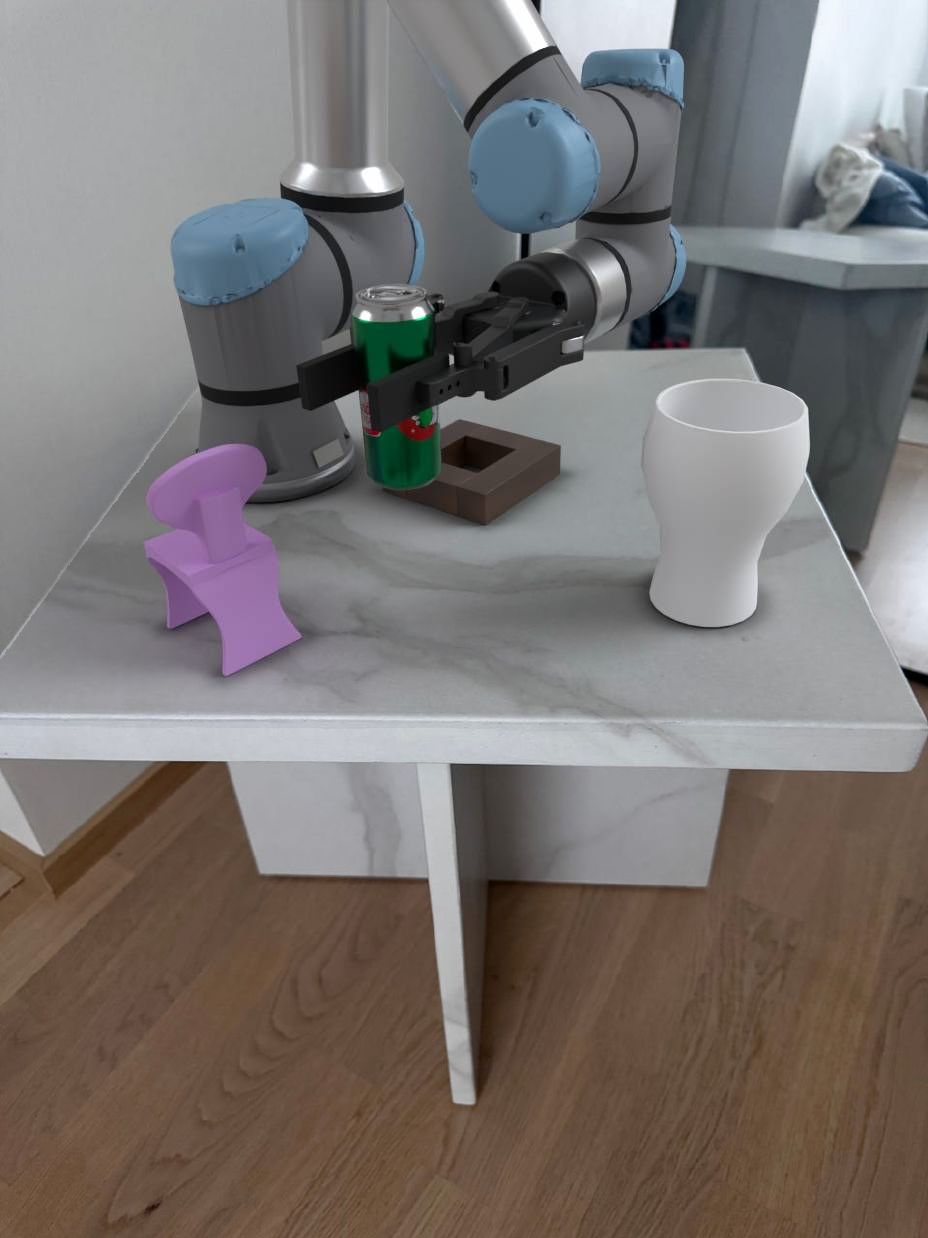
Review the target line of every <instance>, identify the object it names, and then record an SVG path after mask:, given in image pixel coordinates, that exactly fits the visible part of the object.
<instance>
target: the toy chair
mask: <svg viewBox="0 0 928 1238" xmlns="http://www.w3.org/2000/svg"><path fill="white" fill-rule="evenodd" d="M266 473H267V466H266V462H265V459H264V457H263V455H262V453H261V452H260V451H259V450H258V449H257V448H255V447H253V446H250V445H246V444H227V445H221V446H217V447H214V448H211V449H208V450H206V451H203V452H200V453H195V454H192V455H191V456H188V457H186V458H184V459H183V460H180V461H179V462H178V463H176V464H173V466H171V467H170V468H169V469H167V470H166V471H164V472H163V473H162V474H161V475H160V476H158V477H157V478H156V479H155V480H154V481H153V483H152V484H151V485H150V486H149V488H148V490H147V492H146V496H145V503H146V506H147V507H146V508H147V509H148V510H149V512H150V513H151V515H152V516H153V518H155V519H156V520H157V521H158V522H160V523H161V524H163V525H166V526H169V527H170V528H171V529H175V530H172V531H169V532H166V533H163V534H160V535H157V536H154V537H152V538H150V539H148V540H144V541H143V542H142V543H143V546H144V550H145V557H146V559H147V561H148V563H149V564H150V566H151V567H152V568H154V570H155V571H156V572H157V573H158V575H159V577H160V578H161V580H162V582H163V585H164V588H165V593H166V601H167V616H166V617H167V619H166V627H167V628H168V629H169V630H172V629H175V628H177V627H180V626H181V625H183V624H185V623H188V622H190V621H192V620H194V619H196V618H199V617H201V616H203V615H205V614H208V613H209V614H210V615H211V616H212V618H213V619H214V620H215V623H216V624H217V626H218V629H219V631H220V635H221V642H222V669H221V670H222V671H221V673H222V676H224V677H228V676H230V675H233V674H234V673H236V672H238V671H240V670H242V669H244V668H246V667H248V666H249V665H252V664H254V663H256V662H258V661H259V660H261V659H263V658H266V657H267V656H269V655H271V654H273V653H275V652H277V651H279V650H281V649H283V648H285V647H287V646H289V645H291V644H292V643H294V642H296V641H298V640H300V639H302V638H303V636H302V634H301V633H300V632H299V631H298V630H297V628H296V627H295V626H294V625H293V623H292V622H291V620H290V619H289V618H288V616H287V614H286V613H285V611H284V608H283V606H282V605H281V604H282V603H281V600H280V596H279V595H280V594H279V576H280V559H279V556H278V553H277V552H276V549H275V548H276V547H275V544H274V539H273V538H271V537H270V536H268V535H266V534H265V533H264V532H261V531H259V530H257V529H255V528H253V527H252V526H250V525H249V524H247V523H245V518H244V512H243V507H244V506H245V504H247V503H248V502H247V500H248V499H249V498H250V496H251V495H252V494H253V493H254V492H255V491H256V490H257V489H258V488H259V487H260V485H261V484H262V483H263V481H264V479H265V477H266Z"/></svg>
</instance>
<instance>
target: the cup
mask: <svg viewBox="0 0 928 1238" xmlns="http://www.w3.org/2000/svg"><path fill="white" fill-rule="evenodd" d="M810 439H811V438H810V422H809V408H808V405H807V404H806V403H805V401H804V400H803V399H802V398H800V397H799V396H798V395H796V394H795V393H794V392H792V391H789V390H787V389H785V388H782V387H780V386H777V385H772V384H769V383H765V382H761V381H755V380H748V379H736V378H705V379H695V380H689V381H685V382H679V383H677V384H674V385H672V386H669V387H667V388H665V389H664V390H662V391H661V392H660V393H659V394H657V396H656V398H655V401H654V403H653V406H652V409H651V412H650V415H649V418H648V421H647V425H646V427H645V431H644V433H643V436H642V446H641V458H640V467H641V472H642V476H643V482H644V485H645V490H646V495H647V500H648V502H649V504H650V507H651V509H652V512H653V513H654V516H655V517H656V520H657V522H658V524H659V544H660V545H659V546H660V553H659V556H658V560H657V563H656V566H655V569H654V573H653V576H652V579H651V584H650V587H649V592H648V593H649V599H650V601H651V603H652V604H653V606H654V608H656V610H657V611H659V612H660V613H662V614H663V615H664V616H666V617H668V618H670V619H672V620H673V621H677V622H680V623H683V624H685V625H689V626H694V627H695V626H696V627H703V628H720V627H727V626H733V625H736V624H739V623H741V622H744V621H746V620H747V619H748V618H750V617H751V616H752V615H753V614H754V612H755V611H756V609H757V604H758V590H759V582H758V579H759V578H758V575H759V574H758V561H759V559H760V556H761V553H762V550H763V547H764V544H765V541H766V539H767V535H768V534H769V533H770V532H771V531H772V530H773V529H774V528H775V526H777V524H778V523H779V521H781V519H783V517H784V515H785V514H786V513H787V511H788V510H789V508H790V507H791V505H792V503H793V501H794V499H795V498H796V496H797V494H798V492H799V491H800V488H801V487H802V485H803V483H804V481H805V476H806V471H807V467H808V461H809V457H810V449H811V440H810Z"/></svg>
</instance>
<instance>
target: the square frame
mask: <svg viewBox="0 0 928 1238" xmlns="http://www.w3.org/2000/svg"><path fill="white" fill-rule="evenodd" d="M440 430H441V451H442V470H441V472H440V474H439V475H438V476H437V477H436V479H435V480H434V481H433V482H431V483H430V484H428V485H426V486H424V487H421V488H417V489H412V490H391V489H386V488H383V487H381V488H382V491H383V492H385V493H388V494H391V495H394V496H398V497H400V498H404V499H407V500H409V501H412V502H414V503H418V504H421V505H425V506H427V507H430V508H433V509H436V510H439V511H441V512H445V513H447V514H451V515H454V516H457V517H460V518H463V519H466V520H468V521H471V522H475V523H478V524H480V525H484V526H487V525H488V524H490V523H491V522H492V521H494V520H496V519H497V518H498V517H500V516H502V515H503V514H505V512H507V511H509V510H510V509H512V508H513V507H514V506H516V505H517V504H519V503H520V502H522V501H523V500H525V499H526V498H528V497H529V496H531V495H532V494H533V493H535V492H536V491H538V490H539V489H541V488H542V487H544V486H545V485H547V484H548V483H550V482H551V481H553V480H554V479H556V478H557V477H558V476H560V475H561V459H562V457H561V456H562V445H561V444H557V443H554V442H550V441H546V440H543V439H539V438H534V437H531V436H527V435H523V434H519V433H516V432H511V431H509V430H504V429H500V428H496V427H492V426H489V425H485V424H481V423H477V422H473V421H470V420H465V419H462V418H458V419H456V420H455V421H453V422H451V423H449V424H448V425H446V426H444V427H442V428H440ZM466 464H467V465H469V466H472V467H473V466H474V467H477V468H480V469H482V470H481V471H479V472H474V471H472V470H468V469H465V468H461V467H462V466H464V465H466Z"/></svg>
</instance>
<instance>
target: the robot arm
mask: <svg viewBox="0 0 928 1238" xmlns="http://www.w3.org/2000/svg"><path fill="white" fill-rule="evenodd" d="M285 2H286V18H287V19H286V20H287V34H288V36H287V37H288V54H289V71H290V72H289V73H290V90H291V91H290V92H291V110H292V112H291V113H292V128H293V129H292V130H293V145H294V146H293V147H294V156H293V158H292V160H291V161H290V162H289V164H288V165H287V166H286V167H285V169H284V170H283V171H282V172H281V173H280V174H279V191H280V192H279V193H280V198H278V197H257V198H248V199H242V200H238V201H236V202H234V203H223V204H219V205H215V206H212V207H209V208H206V209H204V210H201V211H199V212H197V213H195V214H193V215H190V216H189V217H188V218H186V219H185V220H184V221H182V222H181V223H180V224H179V225H178V226H177V227H176V228H175V230H174V232H173V233H172V236H171V239H170V255H171V261H172V266H173V267H172V268H173V285H174V288H175V291H176V294H177V295H178V296H177V297H178V300H179V304H180V308H181V312H182V317H183V321H184V325H185V329H186V333H187V338H188V342H189V346H190V351H191V356H192V360H193V365H194V369H195V374H196V378H197V382H198V388H199V390H200V391H199V392H200V397H201V413H200V422H199V432H198V448H196V449H195V454H197V453H200V452H203V451H206V450H208V449H211V448H214V447H217V446H221V445H227V444H246V445H250V446H253V447H255V448H257V449H258V450H259V451H260V452H261V453H262V455H263V457H264V459H265V462H266V466H267V473H266V477H265V479H264V481H263V483H262V484H261V485H260V487H259V488H258V489H257V490H256V491H255V492H254V493H253V494H252V495H251V496H250V498H249V499H248V500H247V502H246V503H271V502H282V501H288V500H294V499H298V498H303V497H307V496H310V495H313V494H317V493H319V492H322V491H324V490H326V489H329V488H331V487H333V486H335V485H336V484H338V483H339V482H341V481H343V480H344V479H345V478H346V477H347V476H348V475H350V474H351V472H352V471H353V470H354V468H355V465H356V461H357V459H356V452H355V444H354V439H353V437H352V435H351V433H350V431H349V430H348V428H347V426H346V424H345V421H344V419H343V416H342V414H341V412H340V410H339V408H338V405H337V403H336V401H337V400H339V399H342V398H344V397H346V396H349V395H351V394H353V393H355V392H359V391H358V381H357V372H356V362H355V352H354V343H353V333H352V324H351V312H352V310H353V308H354V306H355V304H356V300H355V295H356V293H357V292H359V291H360V290H363V289H365V288H368V287H372V286H377V285H385V284H409V285H415V286H417V284H418V283H419V280H420V278H421V275H422V271H423V267H424V262H425V239H424V234H423V229H422V226H421V223H420V220H418V219H416V218H415V216H414V209H413V208H412V206H411V205H410V203H408V202H407V201H406V199H405V180H404V178H402V176H401V175H400V174H399V172H398V171H397V170H396V169H395V168H394V167H393V165H392V164H391V162H390V160H389V88H390V87H389V85H390V84H389V78H390V77H389V75H390V73H389V72H390V71H389V69H390V59H389V58H390V10H391V12H392V13H393V15H394V16H395V18H396V19H397V21H398V23H399V24H400V26H401V28H402V29H403V31H404V33H405V34H406V36H407V37H408V39H409V40H410V42H411V43H412V45H413V47H414V49H415V50H416V52H417V53H418V55H419V56H420V58H421V60H422V62H423V63H424V65H425V66H426V68H427V69H428V71H429V73H430V74H431V76H432V77H433V79H434V81H435V82H436V84H437V85H438V87H439V89H440V91H441V92H442V94H443V95H444V97H445V99H446V100H447V102H448V103H449V105H450V106H451V108H452V109H453V111H454V113H455V114H456V116H457V118H458V119H459V122H461V124H462V126H463V128H464V129H465V131H466V133H467V134H468V136H469V138H470V140H471V143H470V147H469V152H468V156H467V171H468V173H469V181H470V185H471V186H470V187H471V192H472V195H473V198H474V201H475V202H476V204H477V206H478V208H479V209H480V210H481V212H482V213H483V214H484V215H485V216H486V218H487V219H489V221H491V222H492V223H493V224H495V225H497V226H498V227H499V228H501V229H503V230H505V231H508V232H511V233H514V234H521V235H522V234H523V235H528V234H529V235H530V234H535V233H539V232H544V231H548V230H554V229H560V228H562V227H564V226H566V225H568V224H573V223H575V232H574V233H575V234H574V237H575V238H574V239H571V240H568V241H565V242H563V243H560V244H557V245H555V246H552V247H549V248H546V249H544V250H543V251H541V252H538V253H534V254H532V255H529V256H527V257H524V258H521V259H518V260H515V261H513V262H511V263H509V264H507V265H506V266H504V268H502V269H501V270H500V271H499V272H498V274H497V275H496V276H495V277H494V279H493V281H492V283H491V285H490V287H489V289H488V290H487V291H485V292H482V293H477V294H475V295H474V296H473V297H472V298H468V299H466V300H463V301H459V302H455V303H450V304H447V305H446V300H445V298H444V295H443V294H442V293H438V292H433V293H431V294H428V296H427V298H428V300H429V302H430V303H431V305H432V306H433V307H434V310H435V327H436V348H437V354H435V355H433V356H431V357H428V358H426V359H424V360H421V361H419V362H417V363H415V364H412V365H410V366H408V367H405V368H403V369H401V370H398V371H396V372H394V373H392V374H389V375H387V376H385V377H382V378H380V379H378V380H376V381H373V382H371V383H369V384H367V391H368V402H369V412H370V422H371V430H375V431H378V432H383V431H385V430H387V429H389V428H391V427H393V426H395V425H397V424H399V423H401V422H403V421H405V420H407V419H409V418H411V417H413V416H415V415H417V414H419V413H421V412H423V411H425V410H427V409H429V408H431V407H433V406H436V405H439V406H440V405H441V404H443V403H445V402H447V401H449V400H451V399H454V398H456V397H458V398H464V399H467V398H471V397H473V396H474V395H475V394H477V393H478V392H483V396H484V397H483V398H484V399H486V400H487V401H491V402H494V401H495V402H496V401H499V400H502V399H504V398H506V397H508V396H509V395H512V394H513V393H515V392H517V391H518V390H520V389H523V388H524V387H526V386H528V385H529V384H531V383H533V382H536V380H540V378H542V377H544V376H546V375H549V373H552V372H553V371H555V370H557V369H559V368H561V367H565V366H567V365H571V364H575V363H579V362H582V361H583V360H584V354H585V344H588V343H590V342H591V341H593V340H595V339H597V338H599V337H600V336H603V335H605V334H607V333H609V332H612V331H614V330H616V329H618V328H620V327H622V326H624V325H627V324H628V323H630V322H632V321H634V320H637V319H642V318H643V317H645V316H647V315H649V314H650V313H651V312H653V311H655V310H656V309H657V308H658V307H660V306H661V305H662V304H663V303H665V302H666V301H668V300H669V299H670V298H671V297H672V296H673V295H674V294H675V293H676V292H677V291H678V290H679V287H680V285H681V284H682V282H683V279H684V277H685V274H686V273H685V272H686V267H687V253H686V250H685V246H684V243H683V240H682V237H681V234H680V233H679V231H678V230H677V228H675V226H674V225H672V224H671V221H672V205H673V204H672V202H673V193H674V185H675V184H674V183H675V177H676V176H675V175H676V167H677V156H678V149H679V147H678V146H679V137H680V129H681V119H682V114H683V113H684V110H685V103H684V78H685V77H684V75H685V63H684V60H683V57H682V56H681V54H680V53H679V52H678V51H677V50H675V49H671V48H622V49H621V48H619V49H603V50H595V51H591V52H590V53H589V54H588V55H587V56H586V57H585V59H584V62H583V63H582V67H581V75H580V81H579V80H578V79H577V77H576V75H575V73H574V71H573V70H572V68H571V67H570V66H569V64H568V62H567V60H566V59H565V57H564V55H563V54H562V52H561V50H560V49H559V47H558V44H557V42H556V41H555V39H554V37H553V36H552V34H551V32H550V30H549V28H548V27H547V25H546V24H545V21H544V20H543V18H542V17H541V15H540V14H539V12H538V10H537V8H536V7H535V5H534V3H533V1H532V0H286V1H285ZM346 331H349V337H350V344H348V345H345V346H342V347H339V348H338V349H334V350H332V351H329V352H327V353H324V351H323V343H322V342H324V341H326V340H329V339H330V338H331V339H332V338H333V337H335V336H337V335H340V334H342V333H344V332H346ZM450 355H451V356H453V363H450Z"/></svg>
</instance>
